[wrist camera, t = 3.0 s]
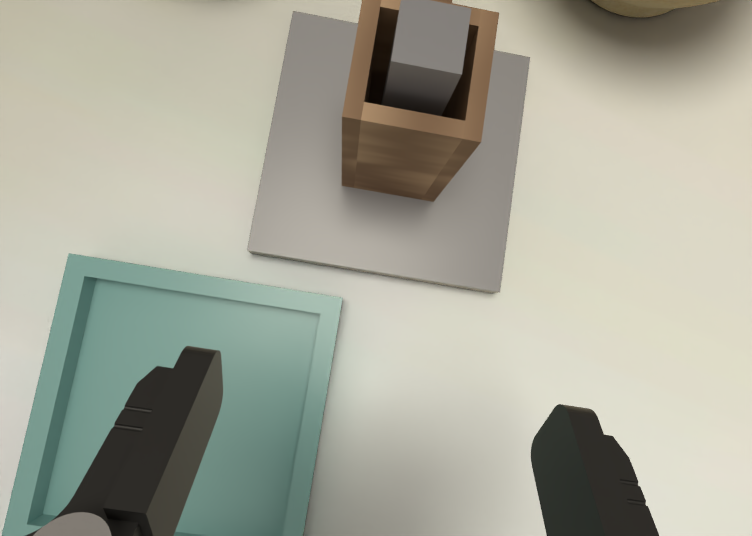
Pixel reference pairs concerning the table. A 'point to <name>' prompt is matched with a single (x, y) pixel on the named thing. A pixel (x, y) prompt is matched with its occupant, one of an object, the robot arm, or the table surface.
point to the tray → (162, 348)
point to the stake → (374, 209)
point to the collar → (411, 112)
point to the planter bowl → (646, 6)
